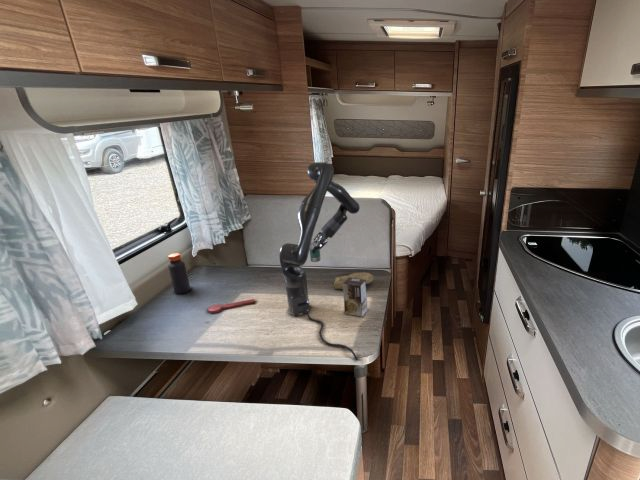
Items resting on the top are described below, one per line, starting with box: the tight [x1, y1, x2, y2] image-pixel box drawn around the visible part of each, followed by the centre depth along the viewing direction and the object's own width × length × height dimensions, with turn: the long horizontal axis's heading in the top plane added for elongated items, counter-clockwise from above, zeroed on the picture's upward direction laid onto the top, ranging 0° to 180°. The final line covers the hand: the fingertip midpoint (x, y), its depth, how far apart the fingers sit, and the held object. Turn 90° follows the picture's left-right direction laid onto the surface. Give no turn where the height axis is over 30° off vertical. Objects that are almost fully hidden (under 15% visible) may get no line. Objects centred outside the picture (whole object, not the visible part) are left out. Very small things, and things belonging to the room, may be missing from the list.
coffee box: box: [342, 277, 368, 317], centre depth 155 cm, size 9×6×16 cm
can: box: [309, 241, 322, 263], centre depth 188 cm, size 6×6×10 cm
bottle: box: [167, 252, 191, 295], centre depth 169 cm, size 7×7×20 cm
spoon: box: [207, 298, 255, 314], centre depth 159 cm, size 6×20×1 cm, turn 115°
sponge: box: [333, 271, 374, 290], centre depth 179 cm, size 13×8×20 cm
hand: (311, 250), depth 186 cm, fingers closed on can, 5 cm apart
